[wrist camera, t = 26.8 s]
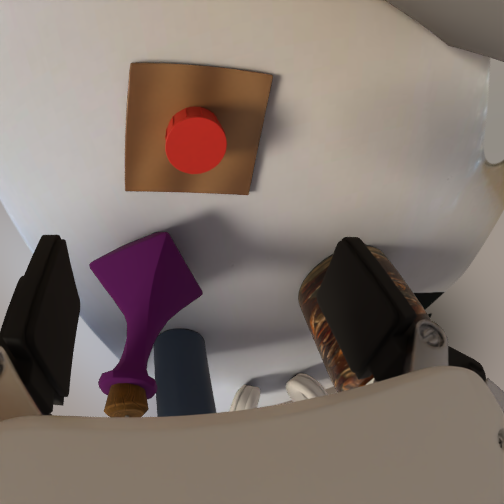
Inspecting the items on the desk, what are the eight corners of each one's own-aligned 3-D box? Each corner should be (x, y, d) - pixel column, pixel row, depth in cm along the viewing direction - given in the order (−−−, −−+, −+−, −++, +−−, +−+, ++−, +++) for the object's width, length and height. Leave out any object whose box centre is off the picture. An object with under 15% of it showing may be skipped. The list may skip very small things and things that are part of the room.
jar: (350, 318, 42) (396, 409, 30) (281, 311, 37) (322, 425, 26) (401, 255, 36) (469, 348, 24) (333, 233, 31) (410, 355, 19)
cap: (230, 120, 21) (238, 133, 18) (204, 164, 23) (208, 183, 20) (182, 97, 19) (182, 107, 17) (157, 144, 21) (155, 161, 18)
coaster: (126, 188, 23) (125, 191, 23) (131, 62, 17) (130, 63, 17) (247, 192, 26) (248, 195, 25) (271, 74, 20) (273, 75, 19)
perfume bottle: (134, 293, 30) (135, 471, 17) (94, 240, 25) (60, 443, 12) (200, 270, 30) (233, 457, 16) (167, 209, 25) (178, 429, 12)
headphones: (215, 381, 45) (240, 503, 30) (326, 359, 48) (369, 467, 33) (218, 399, 49) (241, 506, 34) (318, 379, 53) (354, 475, 38)
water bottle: (155, 357, 38) (168, 494, 24) (152, 328, 34) (164, 487, 20) (202, 356, 40) (227, 489, 26) (206, 327, 36) (235, 481, 22)
